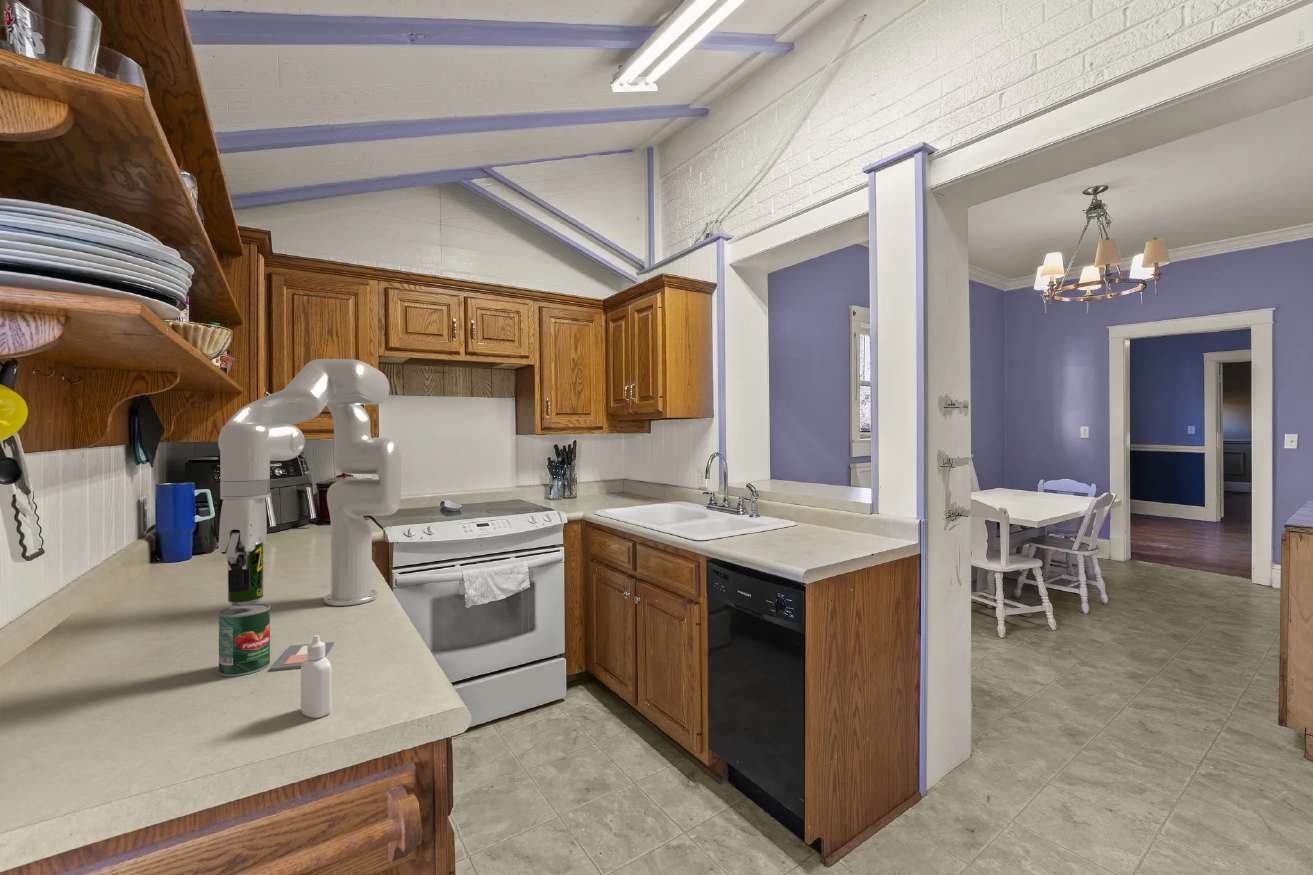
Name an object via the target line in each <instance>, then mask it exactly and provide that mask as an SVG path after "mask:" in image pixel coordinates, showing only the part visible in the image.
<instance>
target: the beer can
mask: <svg viewBox="0 0 1313 875" xmlns="http://www.w3.org/2000/svg"><path fill="white" fill-rule="evenodd" d="M261 538H262V536H261V537H260V538H258V539H259V540H258V541H257V543H256V546H255V550H253V551H251V552H250V553H249V561H248V568H247V569H250V590H248V591H244V592H229V591H228V590H227V601H228V603H229V605H230V606H231V607H233V606H244V605H250V604H257V603H260V602H261V601H262V600H263V597H264V545H263V541H262V539H261ZM237 552H245V551H244V549H238V551H237ZM238 557H241V558H242V561H243V556H238Z"/></svg>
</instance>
